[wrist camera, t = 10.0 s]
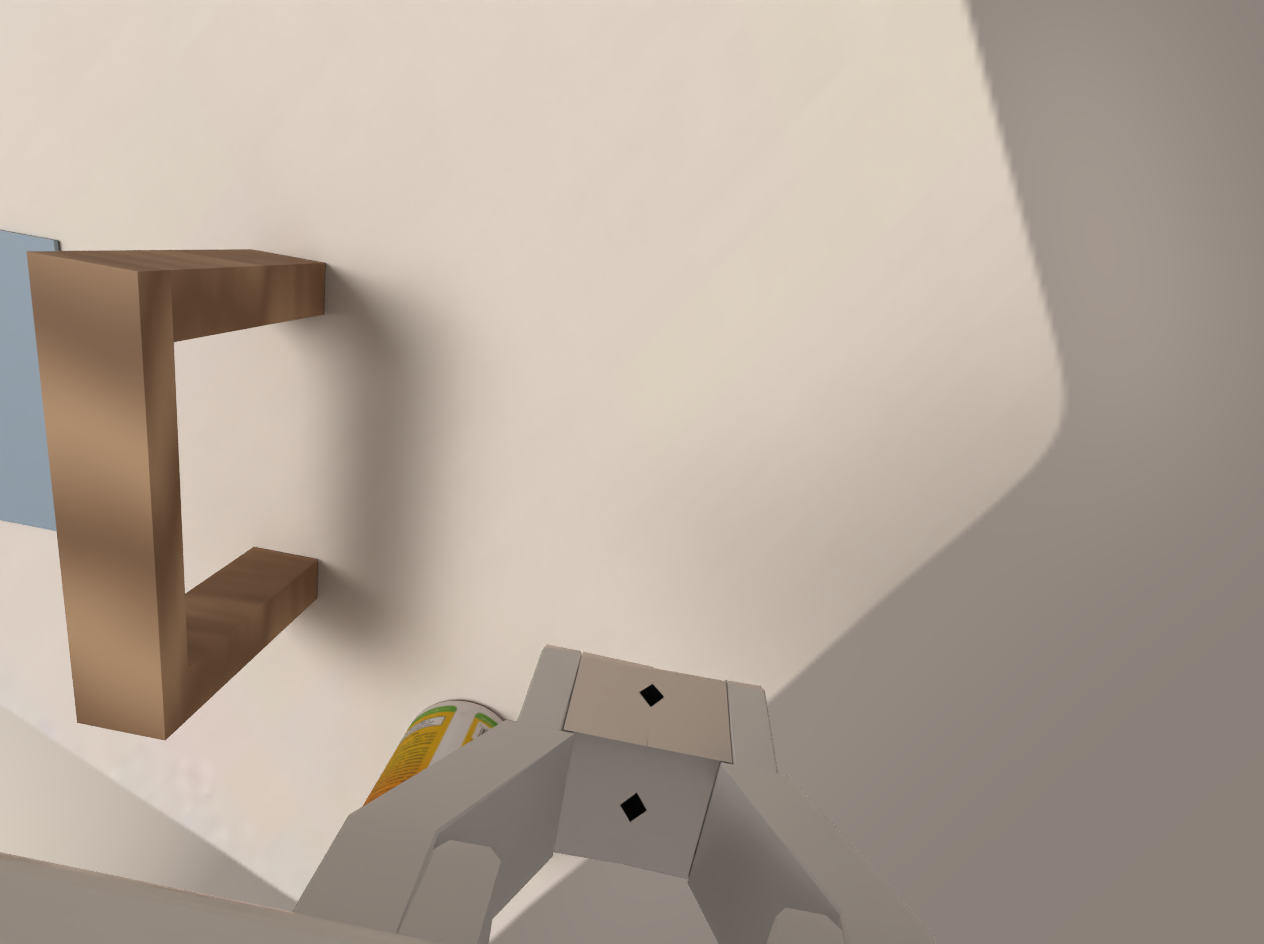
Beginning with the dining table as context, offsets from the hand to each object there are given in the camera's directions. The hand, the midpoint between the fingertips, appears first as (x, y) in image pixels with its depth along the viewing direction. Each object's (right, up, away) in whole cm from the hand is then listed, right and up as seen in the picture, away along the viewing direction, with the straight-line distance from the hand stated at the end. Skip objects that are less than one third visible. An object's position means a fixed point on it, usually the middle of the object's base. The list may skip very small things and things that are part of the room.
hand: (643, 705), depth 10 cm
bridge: (-15, +5, +20) cm, 25 cm away
